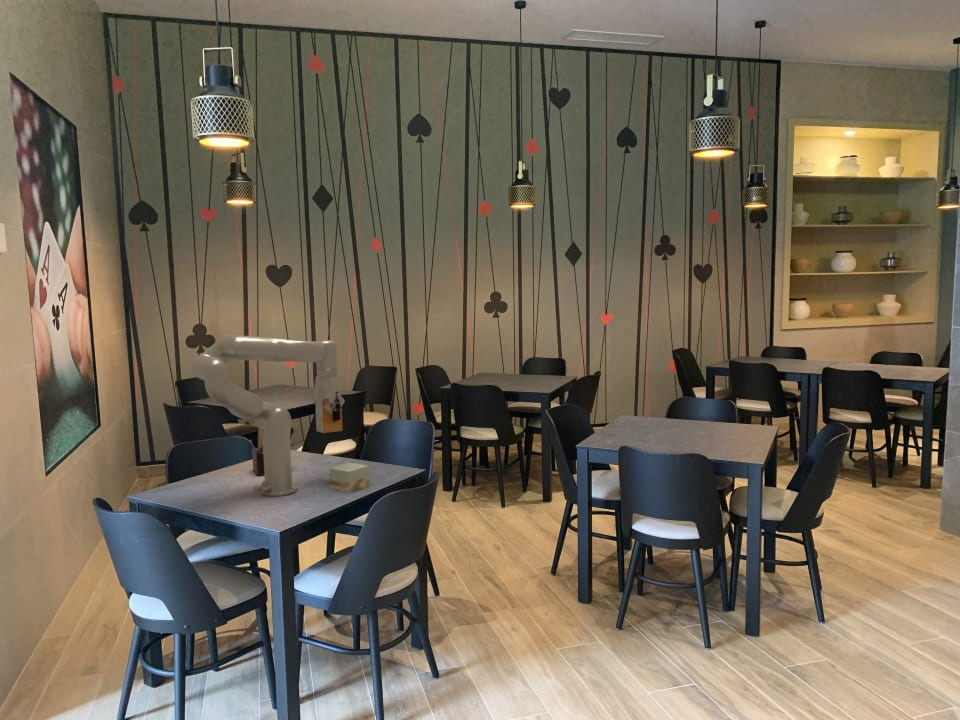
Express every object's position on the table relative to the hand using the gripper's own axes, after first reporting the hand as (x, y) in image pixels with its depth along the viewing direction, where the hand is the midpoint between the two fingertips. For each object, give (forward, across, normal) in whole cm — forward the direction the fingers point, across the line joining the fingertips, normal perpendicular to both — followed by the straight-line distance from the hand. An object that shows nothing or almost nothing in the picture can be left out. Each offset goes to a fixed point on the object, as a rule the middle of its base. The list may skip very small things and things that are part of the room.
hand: (329, 419), depth 278 cm
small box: (+5, 0, 0) cm, 5 cm away
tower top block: (+20, +13, -3) cm, 24 cm away
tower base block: (+24, +13, -3) cm, 27 cm away
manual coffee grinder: (+24, -31, -2) cm, 39 cm away
